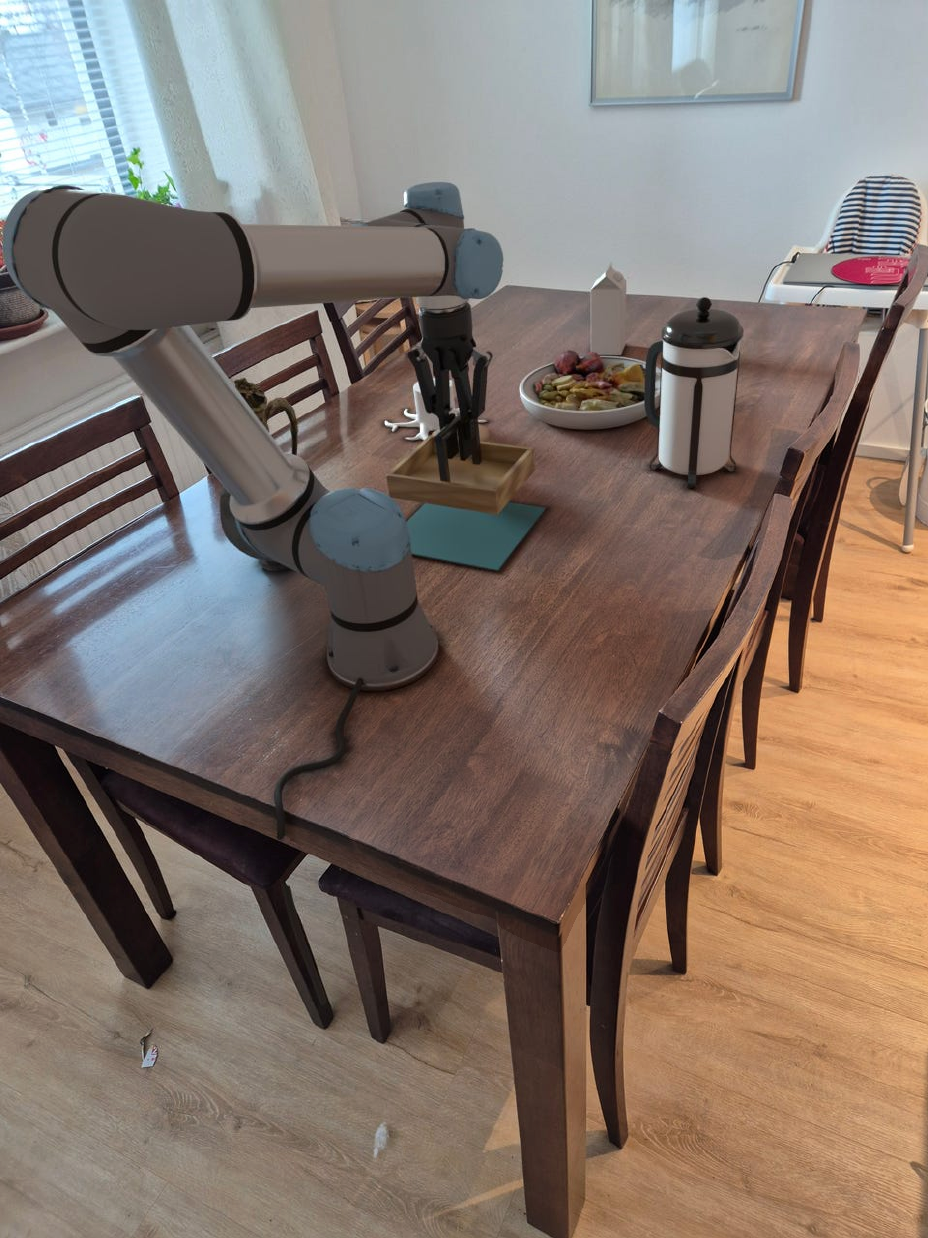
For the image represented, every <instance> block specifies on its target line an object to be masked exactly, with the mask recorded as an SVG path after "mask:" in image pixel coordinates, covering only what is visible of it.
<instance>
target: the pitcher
mask: <svg viewBox="0 0 928 1238" xmlns="http://www.w3.org/2000/svg"><path fill="white" fill-rule="evenodd" d="M232 383H233V384H234V386H235V388H236V389H237V390H238V392H239V393H240V394H241V396H242V397H243V398H244V400H245V401H246V402H247V404H248V405H249V406H250V408H251V409H252V410H253V412H254V413H255V415H256V416H257V417H258V419H259V420H260V421H261V423H262V424H263V425H264V427H265V428H266V429H267V431H268V432H269V433H270V428H269V425H268V421H269V420H270V419H271V417H273V414H274V412H275V411H276V410H278V409H280V408H281V409H283V410H284V412H285V413H286V415H287V417H288V420H289V432H290V439H291V454H293V455H296V456H298V442H299V441H298V434H299V426H298V420H297V419H298V418H297V416H296V411H295V410H294V408H293V406H292V405H291V403H289V401H288V400H287V399H286V398H285V397H282V396H281V397H280V396H279V397H275V398H273V399H272V400H269V401H268V397H267V396H266V395H265V391H264V390H263V389H260V388H261V387H262V386H263V385H262V384H261V383H258V384H255V383H253V382H248V380H247V378H246V377H242V378H238V379H234V380H233V381H232ZM230 497H231V494H230V493H229V492H228V491H227V489H226V488H225V487H224V486H223V487H222V490H221V492H220V496H219V518H220V524H221V528H222V530H223V533H224V535H225V537H226V538H227V540H228V541H229V542H230V544H232V545H233V546H234V548H236V549H237V550H238V551H239V552H241V553H243V554H244V555H246V556H248V557H250V558H253V559H256V560H258V563H259V565H260V567H261V568H262V569H263V570H266V571H269V572H281V571H286V570H289V569H290V568H289V567H287V566H285V565H283V564H281V563H279V562H277V561H275V560H271V559H269V558H266V557H264V556H262V555H261V554H259V553H258V552H256V551H255V550H254V549H253V548H252V547H251V546H250V545H249V544H247V543H246V541H245V540H244V539H243V538H242V536H241V535H240V533H239V531H238V528H237V526H236V521H235V517H234V516H233V514H232V512H231V510H230Z"/></svg>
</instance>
